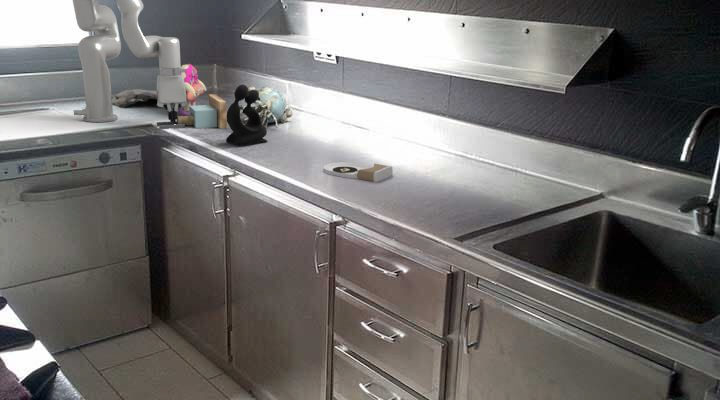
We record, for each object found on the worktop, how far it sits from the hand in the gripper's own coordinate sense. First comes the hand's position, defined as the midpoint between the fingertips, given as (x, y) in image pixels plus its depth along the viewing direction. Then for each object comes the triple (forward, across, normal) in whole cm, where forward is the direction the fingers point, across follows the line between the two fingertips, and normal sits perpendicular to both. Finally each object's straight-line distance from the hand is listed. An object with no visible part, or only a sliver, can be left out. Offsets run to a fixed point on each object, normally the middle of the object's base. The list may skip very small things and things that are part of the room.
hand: (172, 121), depth 259 cm
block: (+2, -11, 0) cm, 11 cm away
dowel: (+2, -7, -2) cm, 7 cm away
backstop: (+2, -17, 0) cm, 17 cm away
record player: (+2, -38, +82) cm, 90 cm away
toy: (+2, -12, -25) cm, 28 cm away
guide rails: (+2, +1, 0) cm, 2 cm away
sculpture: (+2, -34, +7) cm, 35 cm away
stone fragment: (+3, +1, -52) cm, 52 cm away
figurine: (+2, -19, +34) cm, 39 cm away
